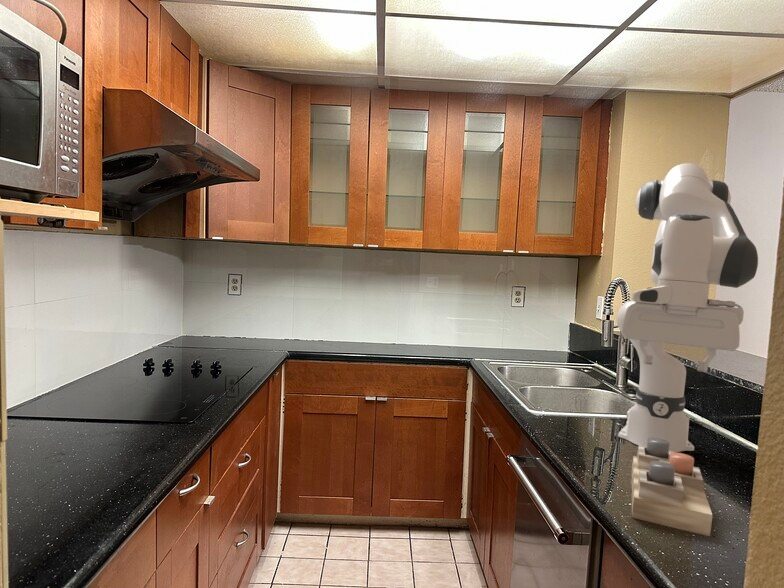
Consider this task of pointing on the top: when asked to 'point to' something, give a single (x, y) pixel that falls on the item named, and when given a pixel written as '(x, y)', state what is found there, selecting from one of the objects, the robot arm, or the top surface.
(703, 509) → the control panel
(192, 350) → the top surface
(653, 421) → the robot arm
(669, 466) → the button
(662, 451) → the button
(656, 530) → the top surface
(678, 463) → the middle button
